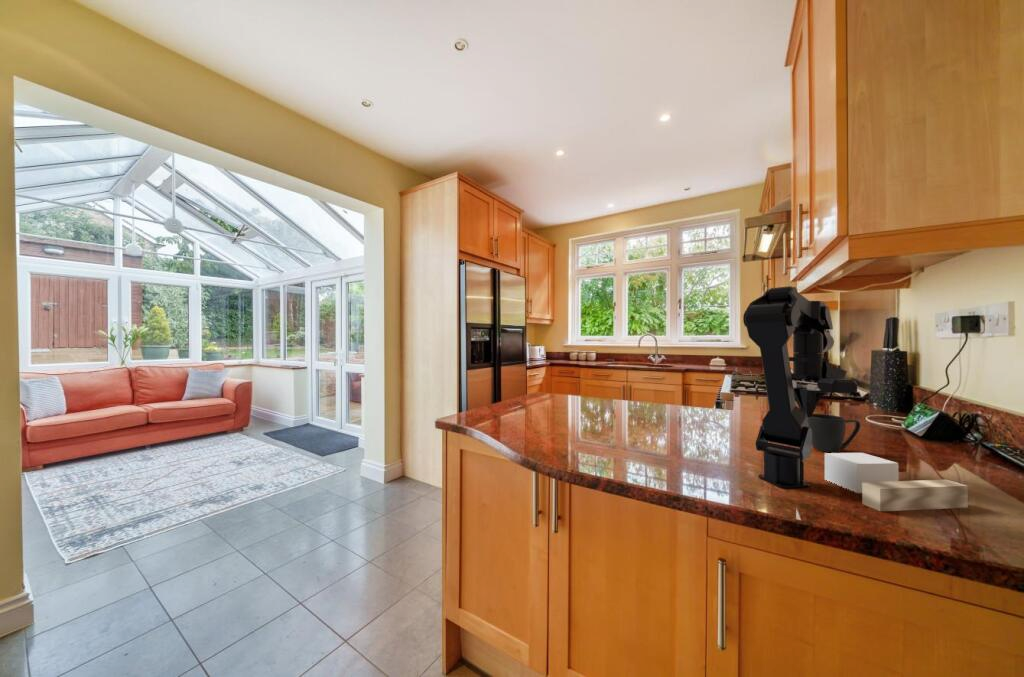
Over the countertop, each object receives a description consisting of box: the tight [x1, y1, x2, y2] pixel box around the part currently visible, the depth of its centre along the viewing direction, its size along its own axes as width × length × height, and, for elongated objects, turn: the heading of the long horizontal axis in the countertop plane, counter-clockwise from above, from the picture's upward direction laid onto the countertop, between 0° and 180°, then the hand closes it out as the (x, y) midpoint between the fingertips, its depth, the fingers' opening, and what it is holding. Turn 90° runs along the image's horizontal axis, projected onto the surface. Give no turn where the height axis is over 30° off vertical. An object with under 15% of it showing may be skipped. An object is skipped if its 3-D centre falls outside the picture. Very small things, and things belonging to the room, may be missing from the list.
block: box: [824, 452, 900, 494], centre depth 76 cm, size 9×7×6 cm
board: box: [861, 479, 969, 512], centre depth 67 cm, size 18×3×4 cm, turn 96°
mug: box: [807, 413, 861, 453], centre depth 101 cm, size 8×12×10 cm
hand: (807, 416), depth 88 cm, fingers closed
